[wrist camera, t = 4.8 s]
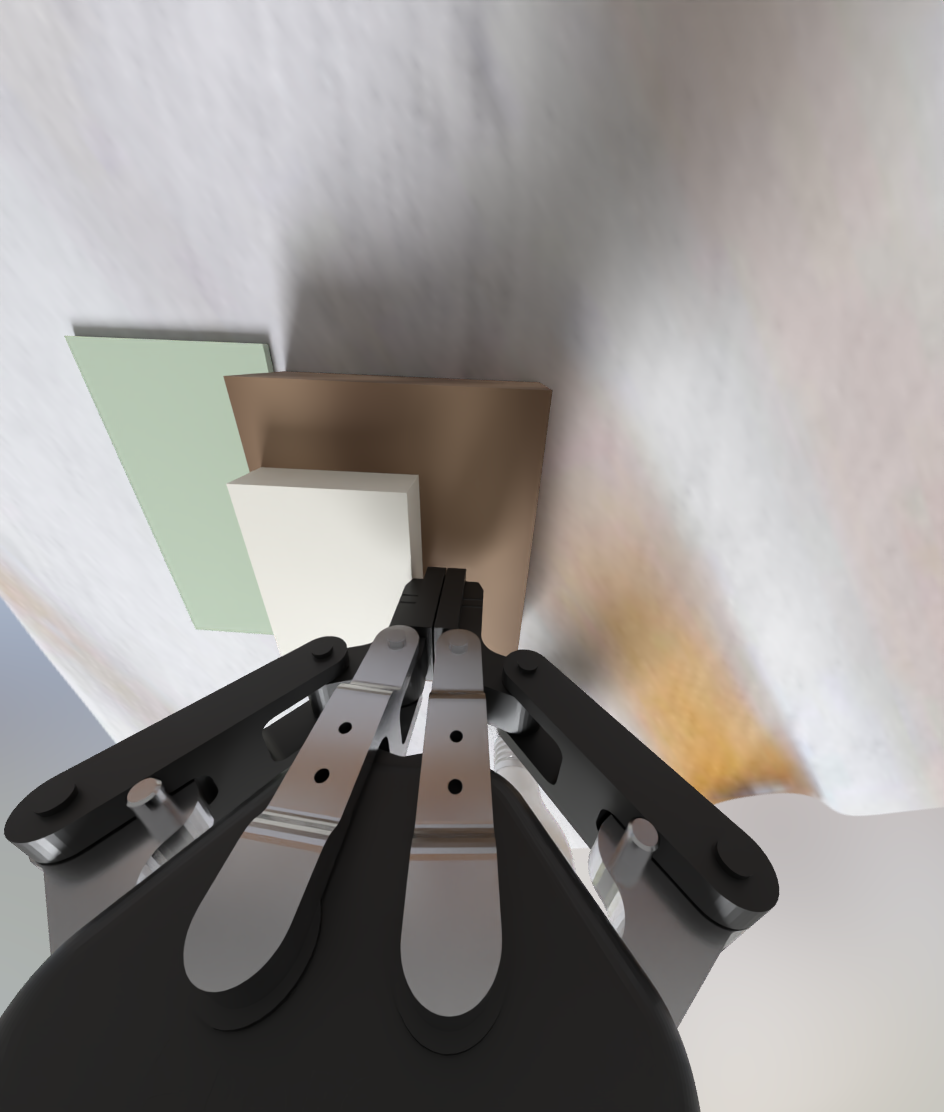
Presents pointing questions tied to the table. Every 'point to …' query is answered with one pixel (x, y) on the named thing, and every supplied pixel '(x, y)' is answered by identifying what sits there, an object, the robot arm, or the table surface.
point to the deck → (420, 462)
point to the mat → (183, 461)
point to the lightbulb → (529, 794)
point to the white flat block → (329, 549)
